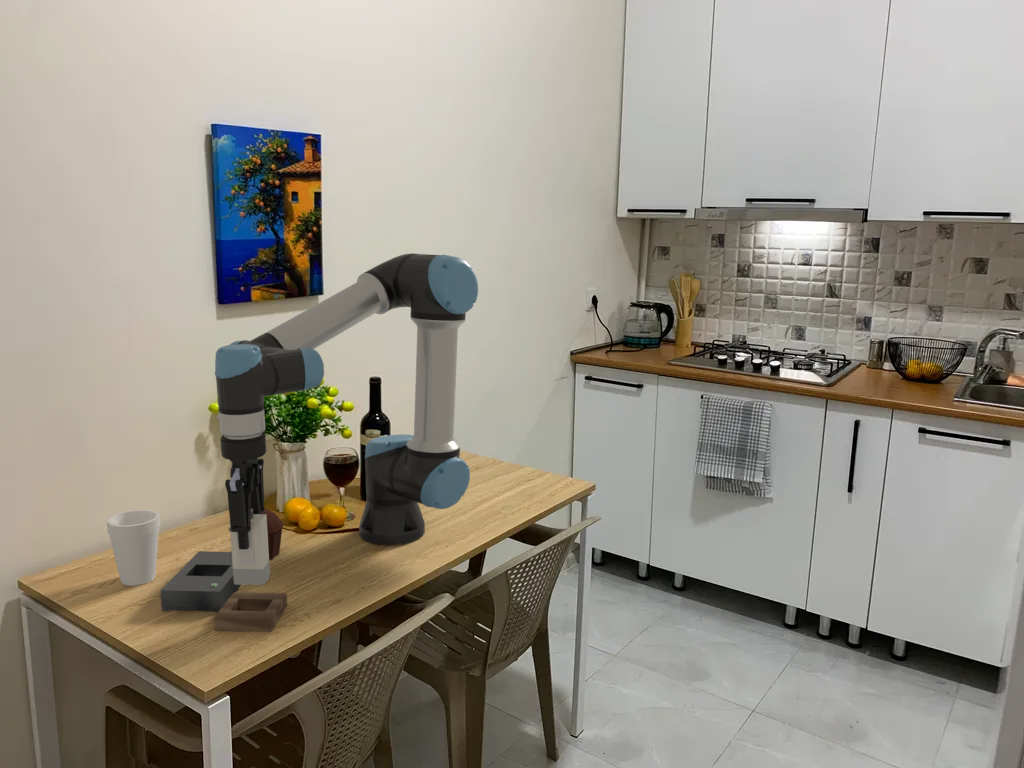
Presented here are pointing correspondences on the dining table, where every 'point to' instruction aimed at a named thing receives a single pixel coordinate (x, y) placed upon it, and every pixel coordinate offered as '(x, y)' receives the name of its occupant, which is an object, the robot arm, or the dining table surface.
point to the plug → (261, 568)
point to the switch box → (201, 584)
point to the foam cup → (135, 545)
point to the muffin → (273, 533)
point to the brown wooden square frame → (251, 612)
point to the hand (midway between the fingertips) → (250, 558)
